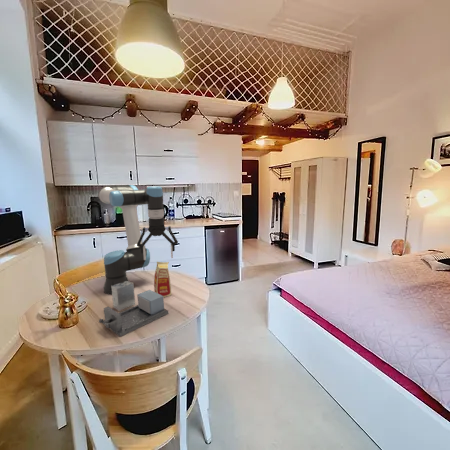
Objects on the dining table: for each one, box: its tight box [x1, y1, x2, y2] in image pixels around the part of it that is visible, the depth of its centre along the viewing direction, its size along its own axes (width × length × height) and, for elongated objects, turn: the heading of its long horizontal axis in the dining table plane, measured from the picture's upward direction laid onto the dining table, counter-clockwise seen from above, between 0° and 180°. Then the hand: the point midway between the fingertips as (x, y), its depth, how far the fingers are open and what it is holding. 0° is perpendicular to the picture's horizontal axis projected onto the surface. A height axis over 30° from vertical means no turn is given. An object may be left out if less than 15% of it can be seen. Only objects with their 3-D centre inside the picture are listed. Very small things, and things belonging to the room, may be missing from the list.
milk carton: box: [153, 261, 172, 298], centre depth 148 cm, size 9×9×20 cm
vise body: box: [98, 304, 169, 338], centre depth 121 cm, size 16×29×8 cm, turn 139°
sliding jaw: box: [137, 289, 165, 315], centre depth 128 cm, size 12×8×7 cm, turn 49°
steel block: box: [111, 281, 136, 312], centre depth 135 cm, size 6×9×12 cm, turn 139°
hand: (158, 258), depth 132 cm, fingers open, 13 cm apart
